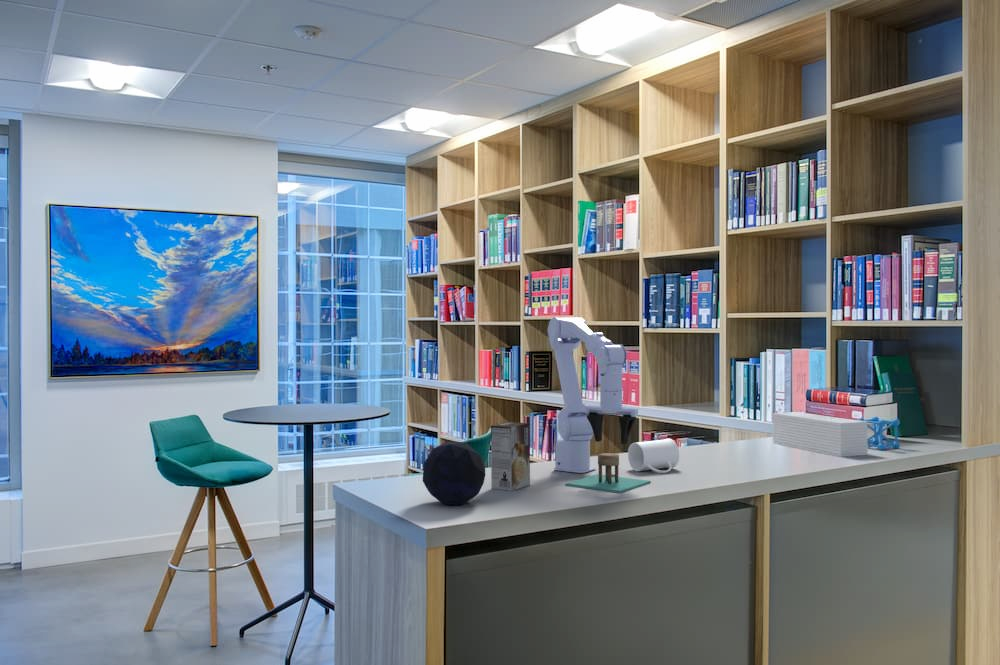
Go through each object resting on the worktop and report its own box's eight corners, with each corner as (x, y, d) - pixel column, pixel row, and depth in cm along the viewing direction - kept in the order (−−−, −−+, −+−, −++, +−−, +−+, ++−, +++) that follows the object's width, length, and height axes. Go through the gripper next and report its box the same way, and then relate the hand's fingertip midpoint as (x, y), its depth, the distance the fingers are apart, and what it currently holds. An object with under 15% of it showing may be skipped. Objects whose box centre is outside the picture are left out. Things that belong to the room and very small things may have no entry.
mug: (689, 460, 220) (654, 465, 215) (678, 482, 225) (644, 487, 219) (667, 432, 228) (633, 435, 223) (657, 453, 233) (623, 457, 228)
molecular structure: (882, 451, 258) (882, 420, 258) (855, 447, 267) (855, 417, 267) (901, 448, 263) (901, 418, 263) (874, 444, 272) (874, 415, 272)
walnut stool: (593, 482, 204) (593, 455, 204) (606, 479, 208) (606, 452, 208) (610, 484, 200) (610, 457, 200) (623, 481, 204) (623, 454, 204)
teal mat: (565, 485, 202) (565, 483, 202) (597, 476, 215) (597, 474, 215) (620, 492, 193) (620, 490, 193) (650, 482, 205) (650, 480, 205)
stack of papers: (772, 443, 277) (772, 413, 277) (797, 442, 280) (797, 411, 280) (840, 457, 247) (840, 423, 247) (867, 455, 250) (867, 421, 250)
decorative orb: (401, 478, 184) (425, 430, 177) (449, 470, 194) (474, 425, 188) (432, 524, 176) (459, 475, 169) (481, 512, 186) (508, 467, 180)
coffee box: (509, 482, 206) (509, 421, 206) (530, 485, 203) (530, 422, 203) (490, 488, 198) (490, 425, 198) (512, 491, 195) (512, 426, 195)
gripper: (643, 390, 206) (643, 442, 206) (594, 388, 214) (594, 438, 214) (630, 392, 200) (630, 446, 200) (581, 390, 209) (581, 441, 209)
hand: (611, 442), depth 207 cm, fingers open, 7 cm apart
